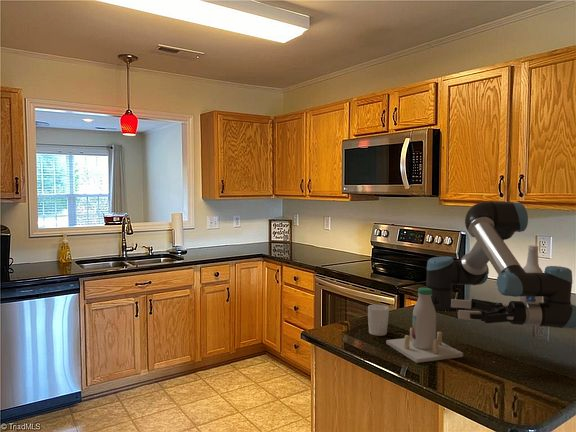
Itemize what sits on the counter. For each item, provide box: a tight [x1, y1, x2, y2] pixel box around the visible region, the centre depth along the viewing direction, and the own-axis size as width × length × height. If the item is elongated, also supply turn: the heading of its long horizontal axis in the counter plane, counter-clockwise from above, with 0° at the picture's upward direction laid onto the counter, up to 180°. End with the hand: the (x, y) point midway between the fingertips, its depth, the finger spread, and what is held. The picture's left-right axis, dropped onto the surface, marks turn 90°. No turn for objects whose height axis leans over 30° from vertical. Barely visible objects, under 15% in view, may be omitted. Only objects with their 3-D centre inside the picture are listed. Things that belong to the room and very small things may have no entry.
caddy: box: [385, 327, 464, 364], centre depth 147 cm, size 18×18×6 cm
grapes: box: [525, 296, 536, 302], centre depth 183 cm, size 12×7×12 cm, turn 156°
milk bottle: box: [411, 287, 437, 350], centre depth 147 cm, size 8×8×20 cm
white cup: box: [367, 304, 390, 337], centre depth 164 cm, size 8×8×10 cm
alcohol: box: [519, 244, 544, 303], centre depth 200 cm, size 9×9×30 cm
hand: (454, 308), depth 145 cm, fingers open, 13 cm apart
